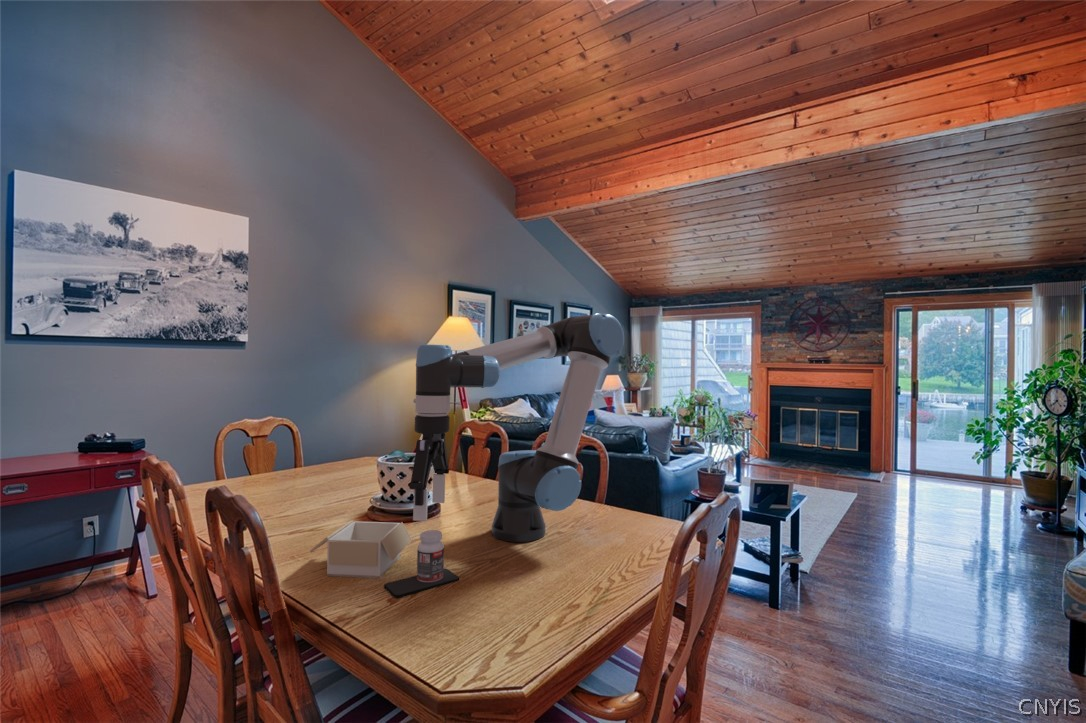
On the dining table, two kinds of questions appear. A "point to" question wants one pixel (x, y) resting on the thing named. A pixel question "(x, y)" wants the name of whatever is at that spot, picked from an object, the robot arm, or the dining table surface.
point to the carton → (360, 550)
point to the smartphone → (417, 584)
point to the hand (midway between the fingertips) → (429, 510)
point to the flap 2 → (396, 541)
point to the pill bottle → (430, 556)
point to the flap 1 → (331, 536)
